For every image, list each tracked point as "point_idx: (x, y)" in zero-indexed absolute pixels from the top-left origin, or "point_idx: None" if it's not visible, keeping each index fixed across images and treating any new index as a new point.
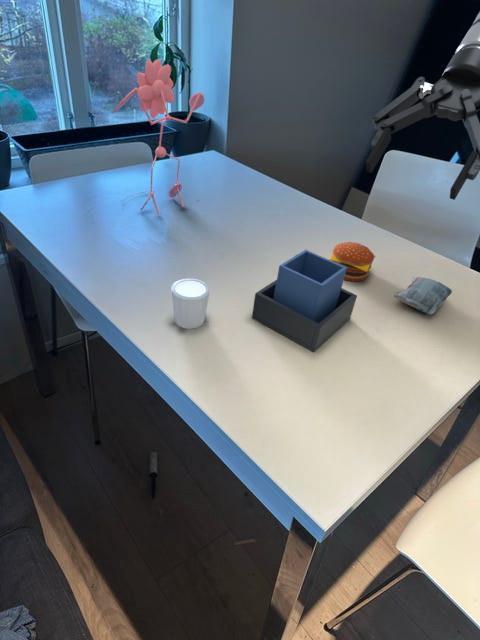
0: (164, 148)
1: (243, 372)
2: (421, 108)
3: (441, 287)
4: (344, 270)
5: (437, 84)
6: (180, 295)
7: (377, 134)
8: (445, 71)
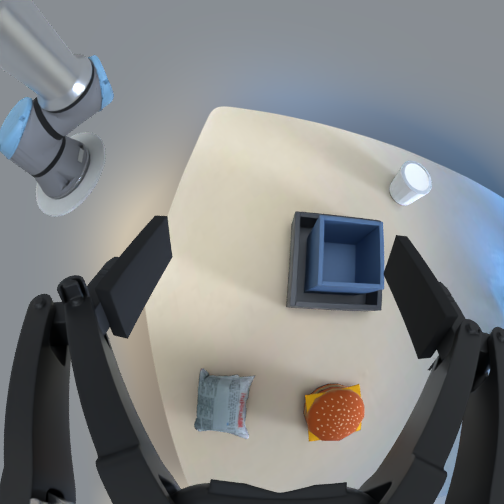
0: None
1: (324, 163)
2: (421, 438)
3: (204, 416)
4: (317, 277)
5: None
6: (413, 162)
7: (455, 309)
8: None
